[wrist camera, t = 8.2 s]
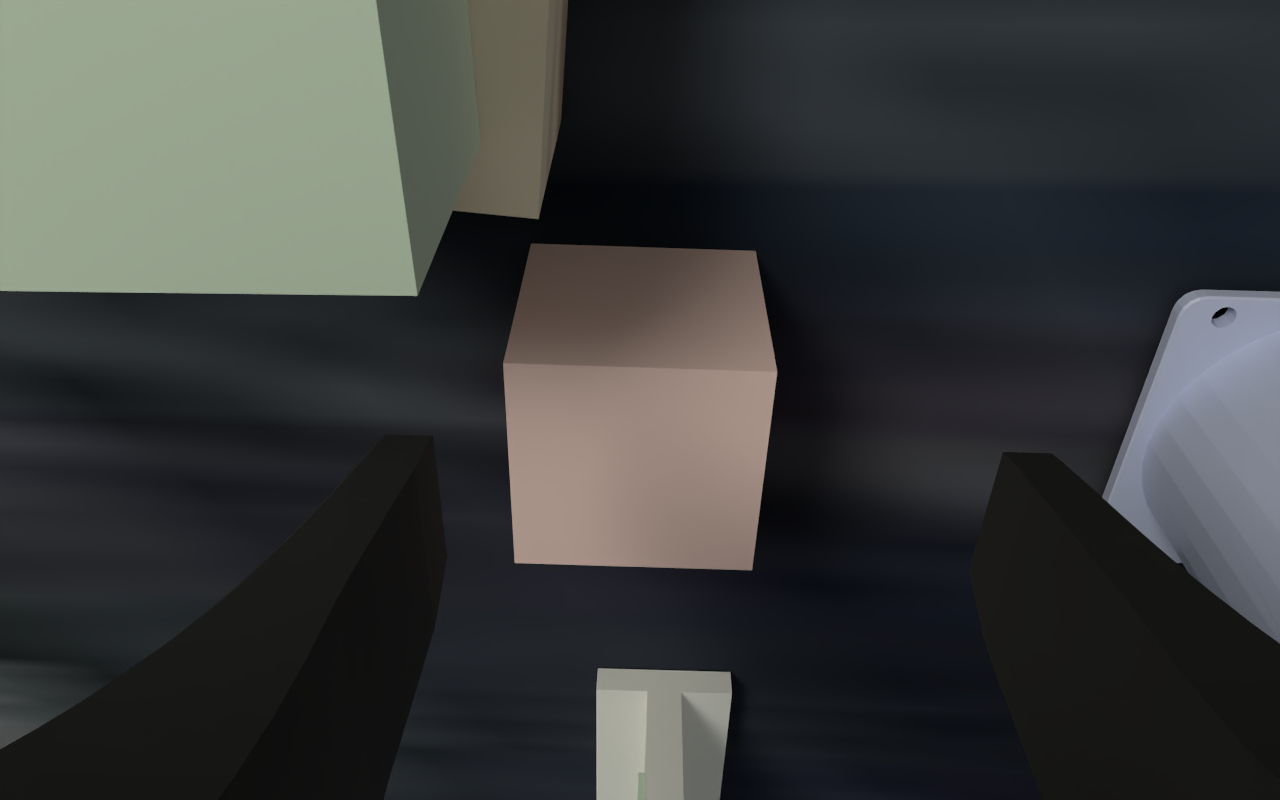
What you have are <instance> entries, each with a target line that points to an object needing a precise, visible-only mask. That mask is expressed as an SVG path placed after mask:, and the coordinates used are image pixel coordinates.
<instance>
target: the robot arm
mask: <svg viewBox="0 0 1280 800" xmlns="http://www.w3.org/2000/svg"><path fill="white" fill-rule="evenodd" d="M1226 307H1228V309H1227V311H1226V312H1225V313H1224V314H1223V315H1222V316H1220V317H1219V318H1215V319H1212V316H1213V315H1214V314H1215V312H1216V311H1218V310H1220V309H1221V308H1226ZM446 557H447V553H446V545H445V536H444V528H443V519H442V511H441V502H440V494H439V485H438V477H437V468H436V460H435V451H434V443H433V436H418V435H384V436H383V437H381V438H380V439H379V440H378V441H377V442H376V443H375V444H374V445H373V446H372V448H371V449H370V450H369V451H368V452H367V453H366V454H365V455H364V456H363V458H362V459H361V460H360V461H359V462H358V463H357V464H356V465H355V467H354V468H353V469H352V470H351V471H350V472H349V473H348V474H347V476H346V477H345V478H344V479H343V480H342V481H341V482H340V483H339V484H338V485H337V487H336V488H335V489H334V490H333V491H332V492H331V493H330V494H329V495H328V496H327V497H326V498H325V500H324V501H323V502H322V503H321V504H320V505H319V506H318V507H317V508H316V509H315V510H314V511H313V512H312V513H311V514H310V515H309V516H308V517H307V518H306V519H305V520H304V521H303V522H302V524H301V525H300V526H299V527H298V528H297V529H296V530H295V531H294V532H293V533H292V534H291V535H290V536H289V537H288V538H287V539H286V540H285V541H284V542H283V543H282V544H281V545H280V546H279V547H278V548H277V549H276V550H275V551H274V552H273V553H272V554H270V555H269V556H268V557H267V558H266V559H265V560H264V561H263V562H262V563H261V564H260V565H259V566H258V567H256V568H255V569H254V570H253V571H252V572H251V573H250V574H249V575H248V576H247V577H246V578H245V579H244V580H242V581H241V582H240V583H239V584H238V585H237V586H236V587H235V588H234V589H233V590H232V591H230V592H229V593H228V594H227V595H226V596H225V597H223V598H222V599H221V600H220V601H219V602H218V603H216V604H215V605H214V606H213V607H212V608H211V609H209V610H208V611H207V612H206V613H205V614H203V615H202V616H201V617H200V618H198V619H197V620H196V621H195V622H194V623H192V624H191V625H190V626H188V627H187V628H186V629H185V630H183V631H182V632H181V633H179V634H178V635H177V636H176V637H174V638H173V639H172V640H170V641H169V642H168V643H166V644H165V645H164V646H162V647H161V648H160V649H158V650H157V651H156V652H154V653H153V654H151V655H150V656H148V657H147V658H145V659H144V660H142V661H141V662H139V663H138V664H136V665H135V666H134V667H132V668H131V669H129V670H128V671H126V672H125V673H123V674H122V675H120V676H119V677H117V678H116V679H114V680H113V681H111V682H110V683H108V684H107V685H106V686H104V687H103V688H101V689H100V690H98V691H97V692H95V693H94V694H92V695H91V696H89V697H88V698H86V699H85V700H83V701H82V702H80V703H78V704H77V705H75V706H74V707H72V708H70V709H69V710H67V711H65V712H64V713H62V714H60V715H59V716H57V717H55V718H54V719H52V720H50V721H49V722H47V723H46V724H44V725H42V726H41V727H39V728H37V729H35V730H34V731H32V732H30V733H28V734H27V735H25V736H23V737H21V738H20V739H18V740H16V741H14V742H13V743H11V744H9V745H7V746H6V747H4V748H2V749H0V800H384V796H385V792H386V788H387V784H388V780H389V777H390V774H391V770H392V767H393V764H394V760H395V757H396V754H397V751H398V747H399V744H400V741H401V737H402V734H403V731H404V728H405V724H406V721H407V718H408V714H409V711H410V708H411V705H412V701H413V698H414V695H415V691H416V688H417V685H418V682H419V678H420V675H421V671H422V668H423V665H424V661H425V658H426V655H427V651H428V648H429V645H430V641H431V638H432V634H433V631H434V627H435V623H436V617H437V611H438V606H439V600H440V594H441V588H442V582H443V576H444V569H445V563H446ZM1177 563H1183V565H1184V566H1185V568H1186V569H1187V571H1188V572H1187V571H1186V570H1184V569H1183V568H1182V567H1181V566H1180V565H1178V564H1177ZM969 574H970V579H971V583H972V588H973V593H974V598H975V603H976V608H977V613H978V617H979V621H980V625H981V630H982V634H983V638H984V642H985V645H986V648H987V651H988V654H989V657H990V659H991V662H992V665H993V668H994V670H995V673H996V676H997V679H998V681H999V684H1000V687H1001V690H1002V692H1003V695H1004V698H1005V701H1006V703H1007V706H1008V709H1009V711H1010V714H1011V717H1012V719H1013V722H1014V725H1015V728H1016V730H1017V733H1018V736H1019V738H1020V741H1021V744H1022V746H1023V749H1024V752H1025V754H1026V757H1027V760H1028V762H1029V765H1030V768H1031V770H1032V773H1033V776H1034V779H1035V781H1036V784H1037V787H1038V789H1039V792H1040V795H1041V797H1042V800H1280V292H1269V291H1234V290H1196V291H1192V292H1190V293H1187V294H1185V295H1184V296H1182V297H1181V298H1180V299H1179V300H1178V301H1177V302H1176V304H1175V305H1174V307H1173V309H1172V311H1171V314H1170V317H1169V319H1168V322H1167V325H1166V327H1165V330H1164V333H1163V335H1162V338H1161V341H1160V343H1159V346H1158V349H1157V352H1156V354H1155V357H1154V360H1153V362H1152V365H1151V368H1150V370H1149V373H1148V376H1147V378H1146V381H1145V384H1144V386H1143V389H1142V392H1141V394H1140V397H1139V400H1138V402H1137V405H1136V408H1135V410H1134V413H1133V416H1132V418H1131V421H1130V424H1129V426H1128V429H1127V432H1126V434H1125V437H1124V440H1123V442H1122V445H1121V448H1120V450H1119V453H1118V456H1117V459H1116V461H1115V464H1114V467H1113V469H1112V472H1111V475H1110V477H1109V480H1108V483H1107V485H1106V488H1105V491H1104V493H1103V496H1102V497H1101V496H1100V495H1099V494H1098V493H1097V492H1096V491H1094V490H1093V489H1092V488H1091V487H1090V486H1089V485H1088V484H1087V483H1085V482H1084V481H1083V480H1082V479H1081V478H1080V477H1079V476H1078V475H1076V474H1075V473H1074V472H1073V471H1072V470H1071V469H1070V468H1068V467H1067V466H1066V465H1065V464H1064V463H1063V462H1061V461H1060V460H1059V459H1058V458H1056V457H1055V456H1054V455H1053V454H1050V453H1015V452H1003V454H1002V458H1001V461H1000V465H999V468H998V472H997V475H996V479H995V482H994V485H993V489H992V492H991V496H990V499H989V503H988V506H987V509H986V513H985V516H984V520H983V523H982V527H981V530H980V534H979V537H978V540H977V544H976V547H975V551H974V554H973V558H972V561H971V565H970V568H969Z"/></svg>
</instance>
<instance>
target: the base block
mask: <svg viewBox="0 0 1280 800" xmlns="http://www.w3.org/2000/svg"><path fill="white" fill-rule="evenodd" d="M467 2H468V13H469V24H470V35H471V46H472V57H473V68H474V79H475V90H476V101H477V112H478V123H479V134H480V146H479V148H478V151H477V153H476V155H475V158H474V160H473V163H472V165H471V167H470V170H469V172H468V175H467V177H466V180H465V182H464V184H463V187H462V189H461V192H460V194H459V197H458V199H457V201H456V204H455V206H454V209H453V211H462V212H472V213H482V214H492V215H502V216H512V217H522V218H532V219H539V214H540V210H541V206H542V201H543V197H544V193H545V188H546V184H547V180H548V175H549V171H550V167H551V162H552V158H553V154H554V149H555V145H556V141H557V136H558V132H559V128H560V123H561V113H562V96H563V79H564V62H565V45H566V28H567V11H568V0H467Z"/></svg>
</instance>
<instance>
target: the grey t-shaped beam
mask: <svg viewBox="0 0 1280 800" xmlns="http://www.w3.org/2000/svg"><path fill="white" fill-rule="evenodd" d="M731 698H732V687H731V673H730V672H709V671H674V670H639V669H603V668H598V674H597V800H720V792H721V784H722V775H723V767H724V758H725V749H726V741H727V732H728V724H729V715H730V706H731Z"/></svg>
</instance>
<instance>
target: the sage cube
mask: <svg viewBox="0 0 1280 800" xmlns="http://www.w3.org/2000/svg"><path fill="white" fill-rule="evenodd" d="M479 146H480V134H479V123H478V112H477V101H476V90H475V79H474V68H473V57H472V46H471V35H470V24H469V13H468V2H467V0H0V290H1V291H53V292H137V293H221V294H305V295H389V296H418V294H419V291H420V289H421V286H422V284H423V281H424V279H425V277H426V274H427V272H428V269H429V267H430V264H431V262H432V260H433V257H434V255H435V252H436V250H437V247H438V245H439V243H440V240H441V238H442V235H443V233H444V230H445V228H446V226H447V223H448V221H449V218H450V216H451V214H452V211H453V209H454V206H455V204H456V201H457V199H458V197H459V194H460V192H461V189H462V187H463V184H464V182H465V180H466V177H467V175H468V172H469V170H470V167H471V165H472V163H473V160H474V158H475V155H476V153H477V151H478V148H479Z"/></svg>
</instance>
